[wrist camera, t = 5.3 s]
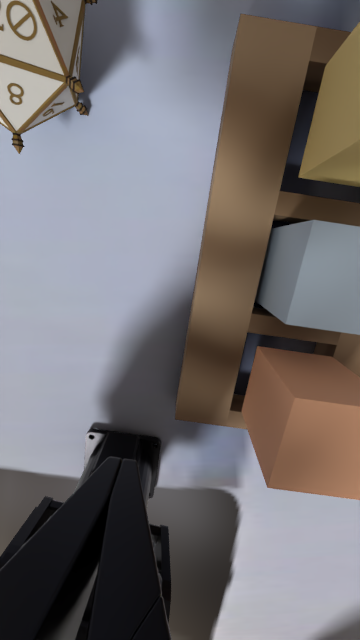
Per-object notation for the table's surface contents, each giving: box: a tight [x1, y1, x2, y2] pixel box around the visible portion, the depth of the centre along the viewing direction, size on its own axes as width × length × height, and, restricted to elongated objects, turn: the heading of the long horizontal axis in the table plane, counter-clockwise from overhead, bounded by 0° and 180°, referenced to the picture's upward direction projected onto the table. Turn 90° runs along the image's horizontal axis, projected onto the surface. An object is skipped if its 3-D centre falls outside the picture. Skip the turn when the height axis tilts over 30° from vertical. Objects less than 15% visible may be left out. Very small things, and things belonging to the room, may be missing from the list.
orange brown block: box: [241, 346, 360, 500], centre depth 15 cm, size 5×5×6 cm
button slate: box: [255, 220, 360, 335], centre depth 15 cm, size 5×5×6 cm
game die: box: [0, 0, 97, 154], centre depth 12 cm, size 9×8×10 cm
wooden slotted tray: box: [175, 14, 360, 429], centre depth 17 cm, size 24×14×2 cm, turn 172°
